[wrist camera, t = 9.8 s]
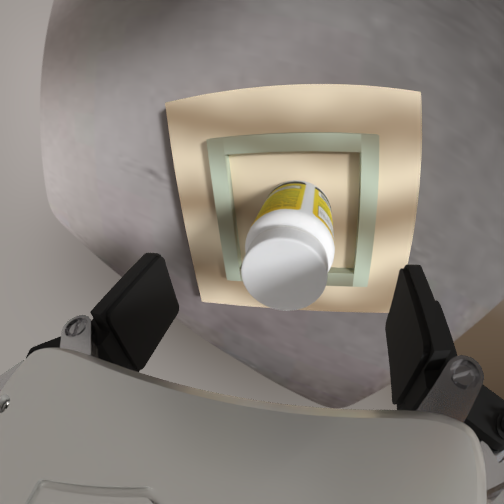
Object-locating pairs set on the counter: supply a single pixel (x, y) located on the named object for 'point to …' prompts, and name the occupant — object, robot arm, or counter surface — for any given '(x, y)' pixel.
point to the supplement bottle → (290, 247)
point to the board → (304, 169)
